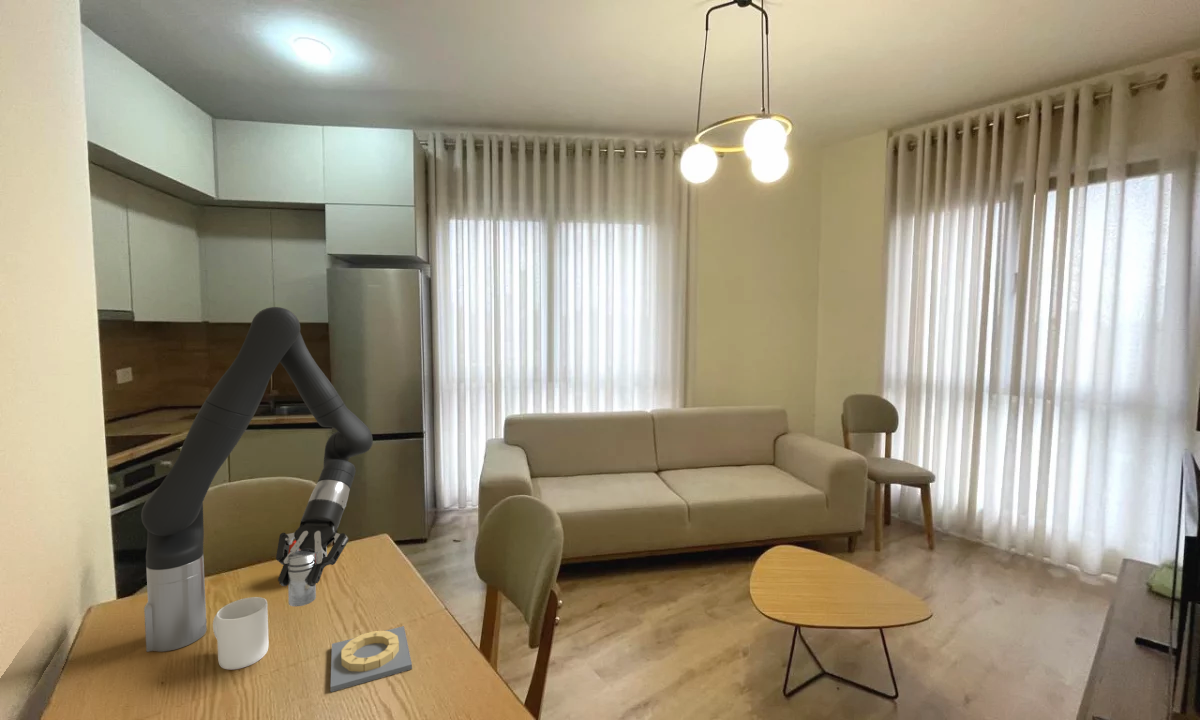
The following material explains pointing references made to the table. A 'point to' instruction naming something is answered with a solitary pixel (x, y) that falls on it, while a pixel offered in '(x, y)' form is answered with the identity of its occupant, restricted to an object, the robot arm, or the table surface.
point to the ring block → (369, 658)
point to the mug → (241, 632)
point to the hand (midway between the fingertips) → (297, 584)
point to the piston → (301, 577)
